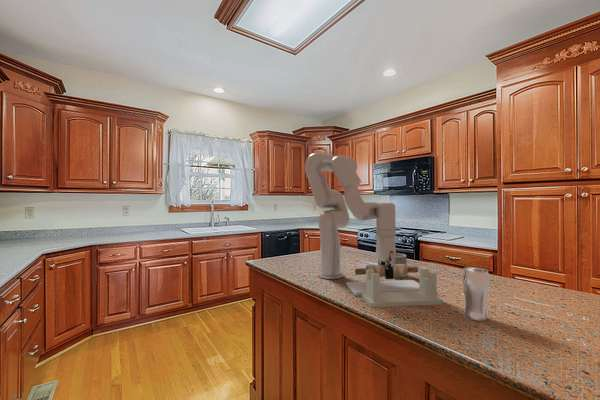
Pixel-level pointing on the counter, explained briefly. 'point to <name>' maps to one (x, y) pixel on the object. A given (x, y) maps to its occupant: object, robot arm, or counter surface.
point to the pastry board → (385, 286)
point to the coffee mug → (399, 260)
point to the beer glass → (475, 292)
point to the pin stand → (402, 298)
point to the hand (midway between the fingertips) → (386, 276)
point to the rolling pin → (380, 269)
